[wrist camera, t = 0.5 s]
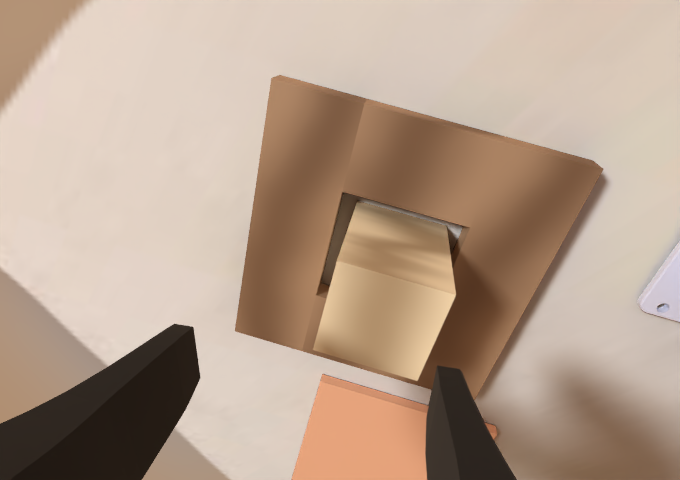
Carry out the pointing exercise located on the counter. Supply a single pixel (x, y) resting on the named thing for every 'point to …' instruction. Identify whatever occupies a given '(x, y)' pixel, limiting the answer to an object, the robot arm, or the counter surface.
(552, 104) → the counter surface
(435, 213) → the pocket plate
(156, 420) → the robot arm
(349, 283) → the birch block
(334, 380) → the tile
